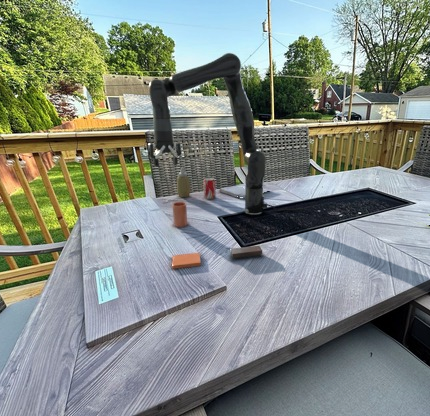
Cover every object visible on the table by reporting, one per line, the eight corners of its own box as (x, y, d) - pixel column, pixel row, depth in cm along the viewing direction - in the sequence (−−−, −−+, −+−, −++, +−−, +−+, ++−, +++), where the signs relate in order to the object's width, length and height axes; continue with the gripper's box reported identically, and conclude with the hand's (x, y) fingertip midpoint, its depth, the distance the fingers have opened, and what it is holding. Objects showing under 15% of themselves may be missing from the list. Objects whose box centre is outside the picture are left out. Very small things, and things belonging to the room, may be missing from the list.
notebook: (250, 185, 194) (219, 191, 174) (250, 182, 193) (219, 188, 173) (271, 191, 181) (241, 199, 161) (271, 188, 180) (241, 195, 160)
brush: (259, 251, 100) (259, 245, 99) (262, 257, 97) (262, 250, 96) (230, 255, 97) (230, 248, 96) (232, 260, 93) (232, 253, 92)
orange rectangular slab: (199, 255, 96) (199, 252, 95) (200, 265, 89) (200, 262, 89) (173, 258, 93) (173, 255, 92) (172, 268, 87) (172, 265, 86)
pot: (187, 221, 124) (186, 201, 121) (187, 226, 119) (186, 205, 116) (174, 222, 122) (172, 202, 119) (173, 227, 117) (172, 206, 114)
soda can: (212, 200, 157) (212, 180, 153) (202, 198, 158) (201, 179, 154) (217, 196, 163) (217, 178, 159) (207, 195, 165) (206, 177, 161)
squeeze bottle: (193, 195, 164) (192, 166, 158) (185, 198, 157) (183, 169, 151) (182, 193, 166) (180, 165, 160) (174, 196, 159) (172, 167, 153)
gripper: (150, 130, 108) (154, 169, 114) (182, 130, 118) (184, 165, 124) (143, 129, 113) (147, 166, 119) (174, 129, 123) (177, 163, 129)
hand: (166, 165), depth 121 cm, fingers open, 8 cm apart
